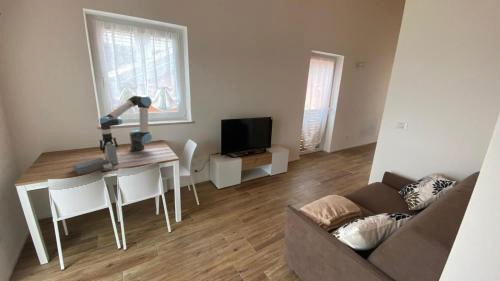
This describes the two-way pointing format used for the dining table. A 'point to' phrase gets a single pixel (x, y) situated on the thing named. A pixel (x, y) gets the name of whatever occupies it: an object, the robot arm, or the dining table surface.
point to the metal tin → (107, 166)
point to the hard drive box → (110, 153)
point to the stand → (88, 165)
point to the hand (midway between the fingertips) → (110, 154)
